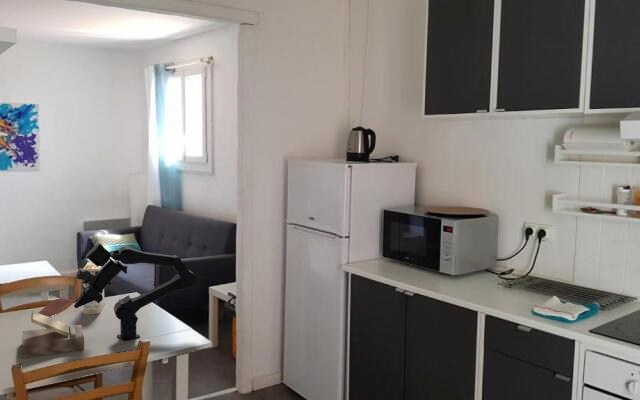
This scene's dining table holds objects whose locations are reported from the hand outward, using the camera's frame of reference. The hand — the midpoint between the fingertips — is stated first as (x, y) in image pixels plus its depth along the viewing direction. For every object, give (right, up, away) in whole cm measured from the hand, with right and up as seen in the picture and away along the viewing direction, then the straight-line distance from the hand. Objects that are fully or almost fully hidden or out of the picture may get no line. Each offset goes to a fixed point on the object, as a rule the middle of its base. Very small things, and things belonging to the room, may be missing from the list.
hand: (74, 307), depth 205 cm
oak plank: (-8, -6, -3) cm, 10 cm away
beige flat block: (-7, -14, -2) cm, 15 cm away
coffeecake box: (-10, -9, +44) cm, 46 cm away
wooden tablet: (-27, -9, +44) cm, 52 cm away
